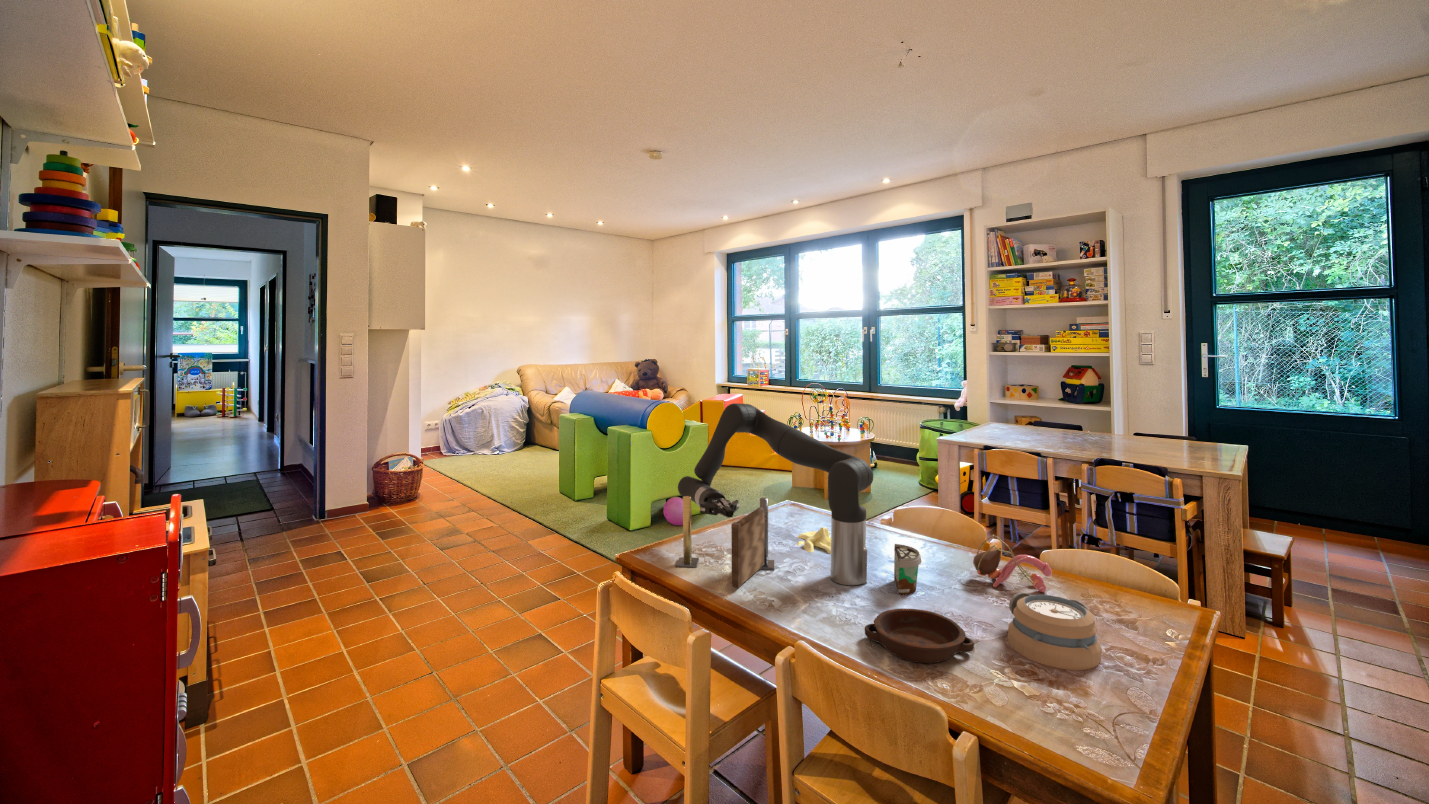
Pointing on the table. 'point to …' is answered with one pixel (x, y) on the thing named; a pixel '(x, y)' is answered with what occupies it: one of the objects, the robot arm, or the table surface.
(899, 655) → the dish
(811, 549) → the cloth
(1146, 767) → the table surface
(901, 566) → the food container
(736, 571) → the gate panel
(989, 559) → the anatomy model
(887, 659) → the table surface
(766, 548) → the gate frame
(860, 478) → the robot arm
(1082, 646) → the alarm clock
